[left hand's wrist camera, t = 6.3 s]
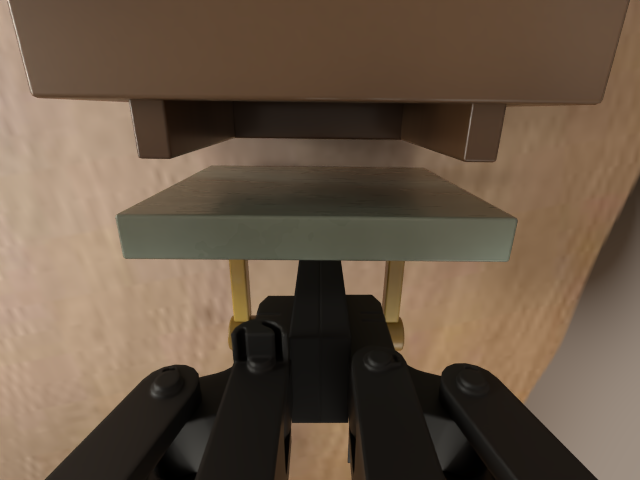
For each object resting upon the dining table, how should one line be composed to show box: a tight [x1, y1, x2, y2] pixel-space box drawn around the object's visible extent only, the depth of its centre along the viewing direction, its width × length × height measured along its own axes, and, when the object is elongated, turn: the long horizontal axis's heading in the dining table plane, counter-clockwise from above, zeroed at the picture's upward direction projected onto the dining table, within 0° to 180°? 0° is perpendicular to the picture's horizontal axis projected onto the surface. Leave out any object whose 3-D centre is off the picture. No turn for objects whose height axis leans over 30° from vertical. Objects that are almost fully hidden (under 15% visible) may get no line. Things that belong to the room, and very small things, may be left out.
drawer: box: [116, 100, 518, 351], centre depth 11 cm, size 24×10×8 cm, turn 179°
